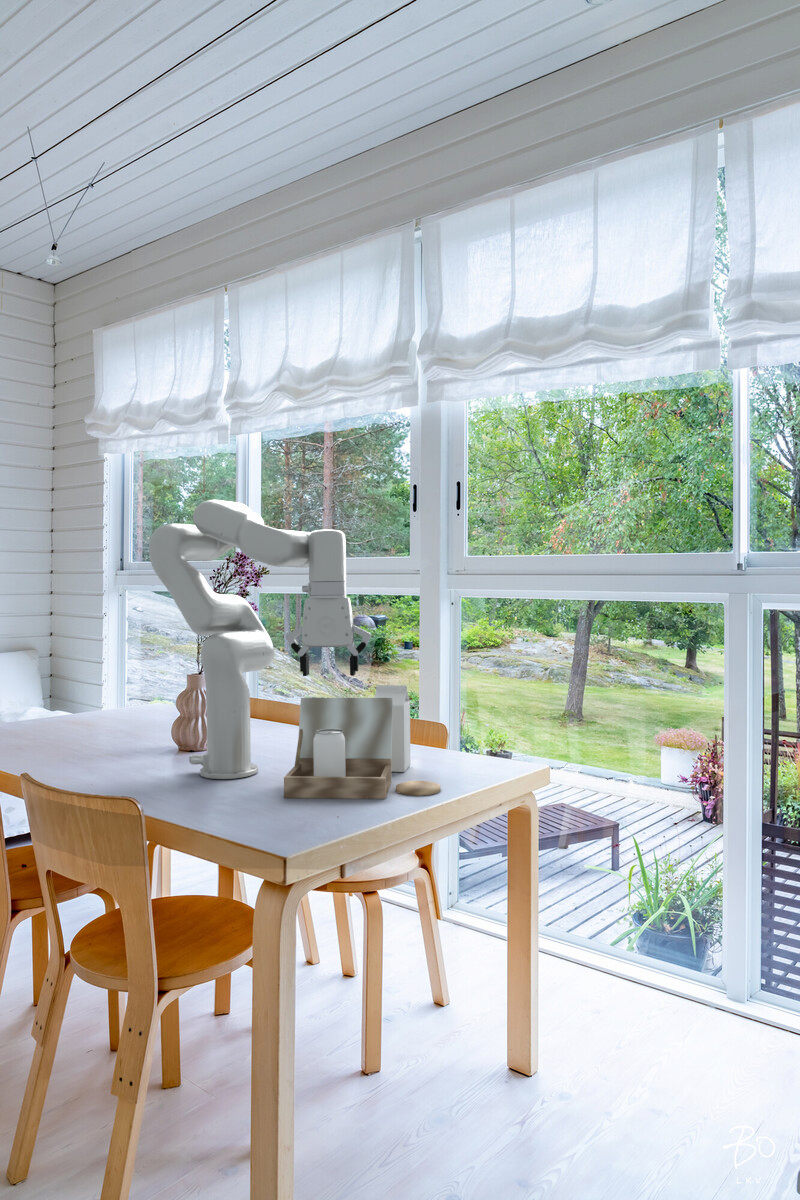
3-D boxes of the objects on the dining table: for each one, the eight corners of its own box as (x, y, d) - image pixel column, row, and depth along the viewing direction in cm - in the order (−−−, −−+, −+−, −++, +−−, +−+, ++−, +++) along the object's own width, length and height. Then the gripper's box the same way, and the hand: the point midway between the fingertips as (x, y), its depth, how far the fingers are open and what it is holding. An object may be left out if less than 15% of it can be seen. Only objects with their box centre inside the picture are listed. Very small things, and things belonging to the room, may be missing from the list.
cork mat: (394, 795, 157) (394, 791, 157) (397, 784, 166) (397, 780, 166) (439, 796, 157) (439, 792, 157) (441, 784, 166) (441, 781, 166)
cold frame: (284, 797, 157) (282, 709, 156) (302, 776, 174) (301, 697, 174) (385, 798, 155) (384, 709, 155) (393, 777, 173) (392, 697, 172)
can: (344, 793, 159) (343, 733, 159) (312, 794, 159) (311, 734, 159) (347, 785, 166) (346, 728, 166) (315, 786, 166) (315, 728, 166)
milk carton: (404, 772, 177) (403, 687, 177) (373, 771, 178) (372, 686, 178) (410, 765, 184) (409, 683, 184) (380, 764, 185) (379, 683, 185)
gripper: (281, 591, 159) (283, 677, 159) (368, 590, 157) (369, 676, 158) (289, 591, 166) (291, 673, 167) (372, 590, 165) (373, 673, 165)
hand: (329, 675), depth 162 cm, fingers open, 9 cm apart
